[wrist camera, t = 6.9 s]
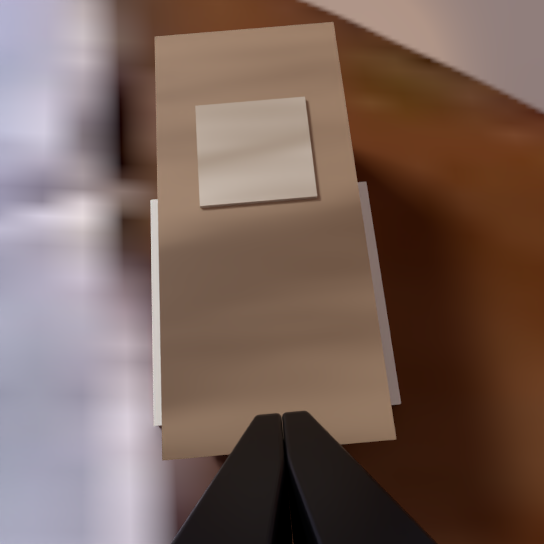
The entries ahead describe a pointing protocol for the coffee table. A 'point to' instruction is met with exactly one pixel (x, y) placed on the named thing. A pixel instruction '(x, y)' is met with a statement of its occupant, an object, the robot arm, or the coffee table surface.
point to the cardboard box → (261, 242)
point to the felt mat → (376, 285)
